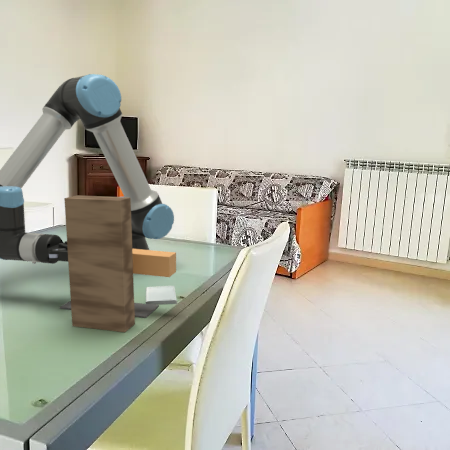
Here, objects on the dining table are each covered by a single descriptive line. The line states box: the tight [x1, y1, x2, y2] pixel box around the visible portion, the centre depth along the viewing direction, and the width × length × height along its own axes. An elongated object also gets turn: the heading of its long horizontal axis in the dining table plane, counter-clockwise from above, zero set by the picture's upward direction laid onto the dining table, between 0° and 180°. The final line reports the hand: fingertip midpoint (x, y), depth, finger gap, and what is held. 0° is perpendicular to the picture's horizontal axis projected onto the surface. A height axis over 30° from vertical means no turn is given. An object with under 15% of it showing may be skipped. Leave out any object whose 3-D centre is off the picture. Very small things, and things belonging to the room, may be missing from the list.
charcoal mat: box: [58, 300, 160, 319], centre depth 120 cm, size 8×24×1 cm, turn 75°
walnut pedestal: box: [64, 195, 136, 333], centre depth 106 cm, size 5×14×30 cm, turn 75°
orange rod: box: [132, 249, 177, 278], centre depth 116 cm, size 4×22×5 cm, turn 75°
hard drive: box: [145, 285, 178, 306], centre depth 129 cm, size 2×8×12 cm
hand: (124, 254), depth 116 cm, fingers closed on orange rod, 4 cm apart
